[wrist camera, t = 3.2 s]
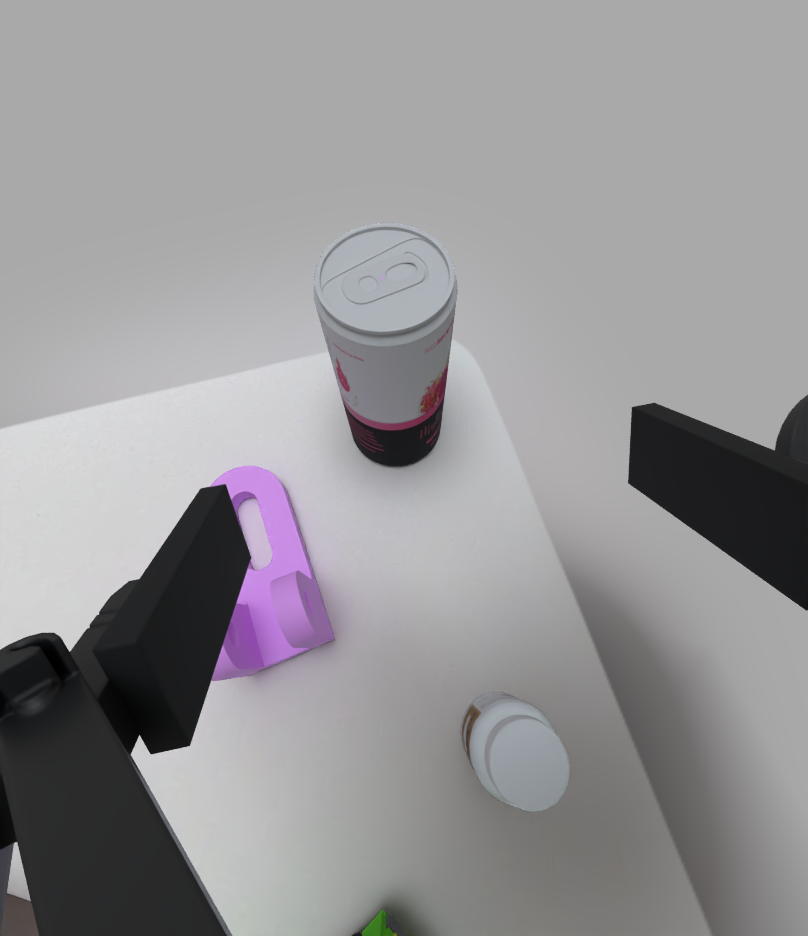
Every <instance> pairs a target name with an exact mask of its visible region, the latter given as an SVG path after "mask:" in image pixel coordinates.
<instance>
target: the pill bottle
mask: <svg viewBox="0 0 808 936" xmlns="http://www.w3.org/2000/svg"><path fill="white" fill-rule="evenodd" d="M461 737H462V743H463V747H464V750H465V752H466V754H467V757H468V759H469V761H470V763H471V765H472V767H473V769H474V771H475V773H476V775H477V777H478V779H479V780H480V782H481V784H482V785H483V786H484V788H485V789H486V790H487V791H488V792H489V793H490V794H491V795H492V796H494V797H495V798H496V799H498V800H500V801H501V802H503V803H506V804H508V805H512V806H515V807H516V808H519V809H521V810H524V811H529V812H539V811H543V810H546V809H549V808H550V807H552V806H554V805H555V804H556V803H557V802H558V801H559V800H560V799H561V797H562V796H563V794H564V793H565V791H566V788H567V786H568V782H569V776H570V765H569V759H568V755H567V751H566V749H565V747H564V745H563V743H562V741H561V739H560V738H559V737H558V734H557V732H556V730H555V728H554V726H553V725H552V723H551V722H550V721H549V719H548V718H547V717H546V716H545V715H544V714H543V713H542V712H541V711H540V710H538V709H537V708H535V707H533V706H532V705H530V704H528V703H526V702H524V701H522V700H520V699H517V698H515V697H513V696H511V695H509V694H506V693H501V692H493V693H487V694H484V695H482V696H480V697H479V698H477V699H476V700H475V701H474V702H473V703H472V704H471V705H470V706H469V708H468V709H467V711H466V713H465V715H464V718H463V721H462V726H461Z"/></svg>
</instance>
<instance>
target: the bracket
mask: <svg viewBox="0 0 808 936" xmlns="http://www.w3.org/2000/svg"><path fill="white" fill-rule="evenodd" d="M222 484H226V486H227V489H228V492H229V495H230V498H231V501H232V504H233V506H234V509H235V512H236V515H237V510H238V507H239V505H240V503H241V502H242V501H244V500H245V499H248V498H257V501H258V504H259V508H260V511H261V514H262V518H263V521H264V525H265V528H266V531H267V535H268V538H269V542H270V545H271V548H272V552H273V556H272V560H271V562H270V563H269V565H268V566H267V567H265V568H264V569H262V570H254V569H253V568H252V566H251V562H250V563H249V566H248V569H247V572H246V575H245V578H244V581H243V584H242V588H241V591H240V594H239V597H238V600H237V603H236V606H235V609H234V612H233V615H232V618H231V621H230V624H229V627H228V630H227V633H226V637H225V640H224V643H223V646H222V649H221V652H220V655H219V658H218V661H217V664H216V667H215V670H214V673H213V676H212V679H211V680H212V681H218V680H224V679H231V678H237V677H243V676H249V675H252V674H254V673H256V672H259V671H261V670H263V669H266V668H268V667H271V666H273V665H275V664H278V663H280V662H282V661H285V660H287V659H290V658H292V657H294V656H297V655H299V654H301V653H304V652H306V651H308V650H311V649H313V648H316V647H318V646H320V645H323V644H325V643H327V642H330V641H332V640H335V637H334V634H333V631H332V628H331V625H330V622H329V619H328V616H327V613H326V610H325V606H324V603H323V600H322V597H321V594H320V591H319V588H318V585H317V582H316V579H315V576H314V572H313V569H312V566H311V563H310V560H309V557H308V554H307V551H306V548H305V545H304V542H303V538H302V535H301V532H300V529H299V526H298V523H297V520H296V517H295V514H294V511H293V508H292V504H291V501H290V498H289V495H288V493H287V491H286V489H285V487H284V486H283V485H282V484H281V482H280V481H279V480H278V479H277V477H276V476H275V475H273V474H272V473H271V472H269V471H268V470H266V469H263V468H260V467H256V466H243V467H238V468H234V469H232V470H230V471H227V472H226V473H224V474H223V475H221V476H220V477H219V478H217V479H216V480H215V481H214V482H213V484H212V485H211V486H210V487H212V486H217V485H222ZM237 518H238V515H237ZM238 521H239V518H238ZM239 524H240V522H239ZM240 527H241V526H240ZM241 530H242V529H241Z"/></svg>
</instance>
